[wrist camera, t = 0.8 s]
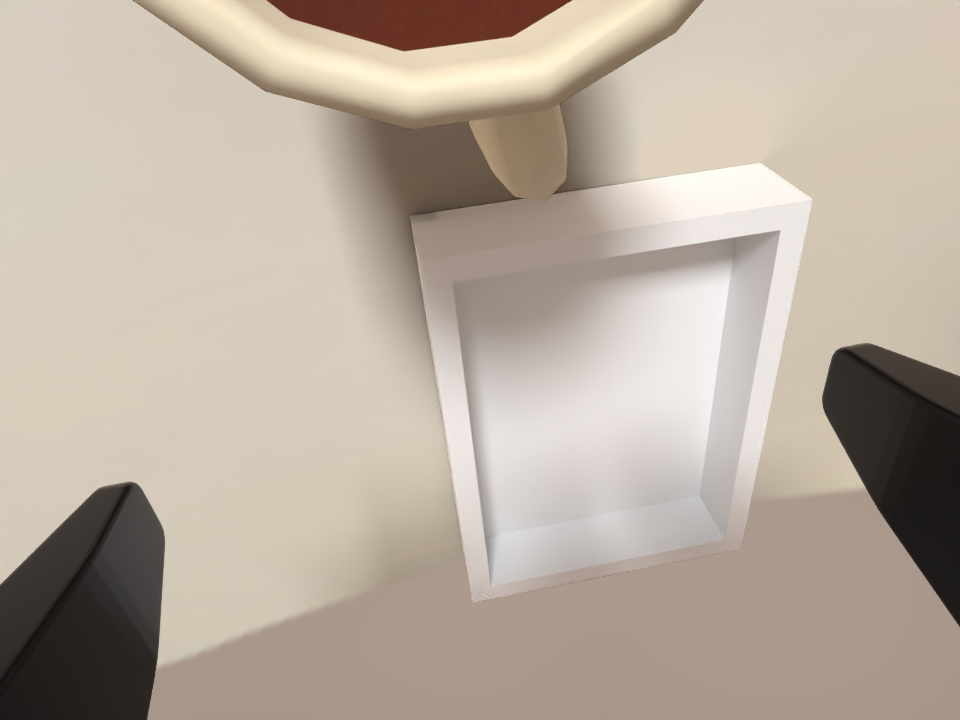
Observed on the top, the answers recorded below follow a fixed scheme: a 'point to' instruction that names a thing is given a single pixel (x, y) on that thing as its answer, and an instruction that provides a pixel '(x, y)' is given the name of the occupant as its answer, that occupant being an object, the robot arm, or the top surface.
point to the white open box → (608, 368)
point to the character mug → (437, 62)
